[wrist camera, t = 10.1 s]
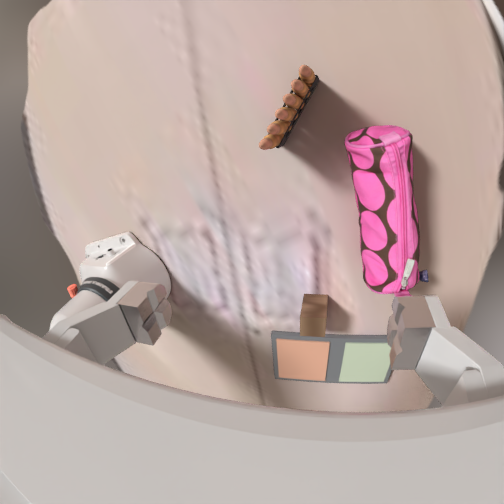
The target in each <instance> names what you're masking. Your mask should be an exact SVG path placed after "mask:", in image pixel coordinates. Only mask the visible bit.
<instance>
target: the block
mask: <svg viewBox="0 0 504 504" xmlns="http://www.w3.org/2000/svg"><path fill="white" fill-rule="evenodd" d="M327 301H328V295H317V294H304V297H303V303H302V309H301V315H300V336H311V337H325V331H326V318H327Z"/></svg>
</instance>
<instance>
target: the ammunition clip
mask: <svg viewBox="0 0 504 504" xmlns="http://www.w3.org/2000/svg"><path fill="white" fill-rule="evenodd" d="M315 76H316V77H315ZM318 82H319V78H318V76H317V75H315V74H314V72H313V70H312V69H311V68H309V67H308V66H307V65H301V66H300V68H299V78H298V79H295V80H293V81H292V82H291V86H292V90H291V92H290V94H286V95H285V96H284V97H283V101H284V105H283V107H282V108H280V109H278V110H276V112H275V116H276V117H277V118H276V120H275V121H274V122H273V123H271V124H270V125H269V126H268V127H267V132H268V133H269V134H268V135H267V136H265V137H264V139H262V140H261V141H260V143H259V147H260V148H261V149H263V150H266V149H272V148H275V147H276V148H280V147H281V146H283V145H284V144H285V142H286V140H287V138H288V136H289V134H290V133H291V131H292V129H293V127H294V125H295V124H296V122H297V120H298V118H299V116H300V114H301V113H302V111H303V109H304V107H305V105H306V104H307V102H308V100H309V98H310V96H311V95H312V93H313V91H314V89H315V88H316V86H317V84H318ZM293 92H294V93H295V94H292V93H293ZM286 105H287V106H288V107H285V106H286ZM278 119H280V120H279V121H278Z"/></svg>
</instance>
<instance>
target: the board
mask: <svg viewBox="0 0 504 504" xmlns="http://www.w3.org/2000/svg"><path fill="white" fill-rule="evenodd" d="M271 339H272V350H273V362H274V375H275V379H284V380H295V381H308V382H325V383H361V384H372V383H387V381H388V379H389V376H390V374H391V371H392V370H391V364H390V357H389V354H390V350H391V347H390V346H389V345H388V342H387V335H336V334H325V337H311V336H300V333H296V332H282V331H272V333H271Z"/></svg>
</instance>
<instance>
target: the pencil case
mask: <svg viewBox="0 0 504 504" xmlns="http://www.w3.org/2000/svg"><path fill="white" fill-rule="evenodd" d="M345 146H346V150H347V153H348V157H349V162H350V166H351V173H352V179H353V184H354V188H355V196H356V202H357V207H358V210H359V225H360V246H361V256H362V262H363V279H364V281H365V283H366V285H367V286H368V287H369V288H370V289H371V290H372V291H373V292H375V293H379V294H392V293H394V294H395V296H411V295H410V293H409V291H408V290H409V289H410V288H413V287H414V286H415V285H416V284H417V283H418V281H419V280H421V281H424V282H428V273H427V270H423V271H421V272H419V270H418V262H419V253H420V250H419V243H420V234H419V224H418V215H417V208H416V204H415V200H414V195H413V154H412V134H411V133H410V132H409V131H408V130H406V129H403V128H401V127H398V126H392V125H385V126H372V127H368V128H364V129H361V130H358V131H353V132H351V133H349V134H348V135H347V136H346V138H345Z"/></svg>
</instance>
